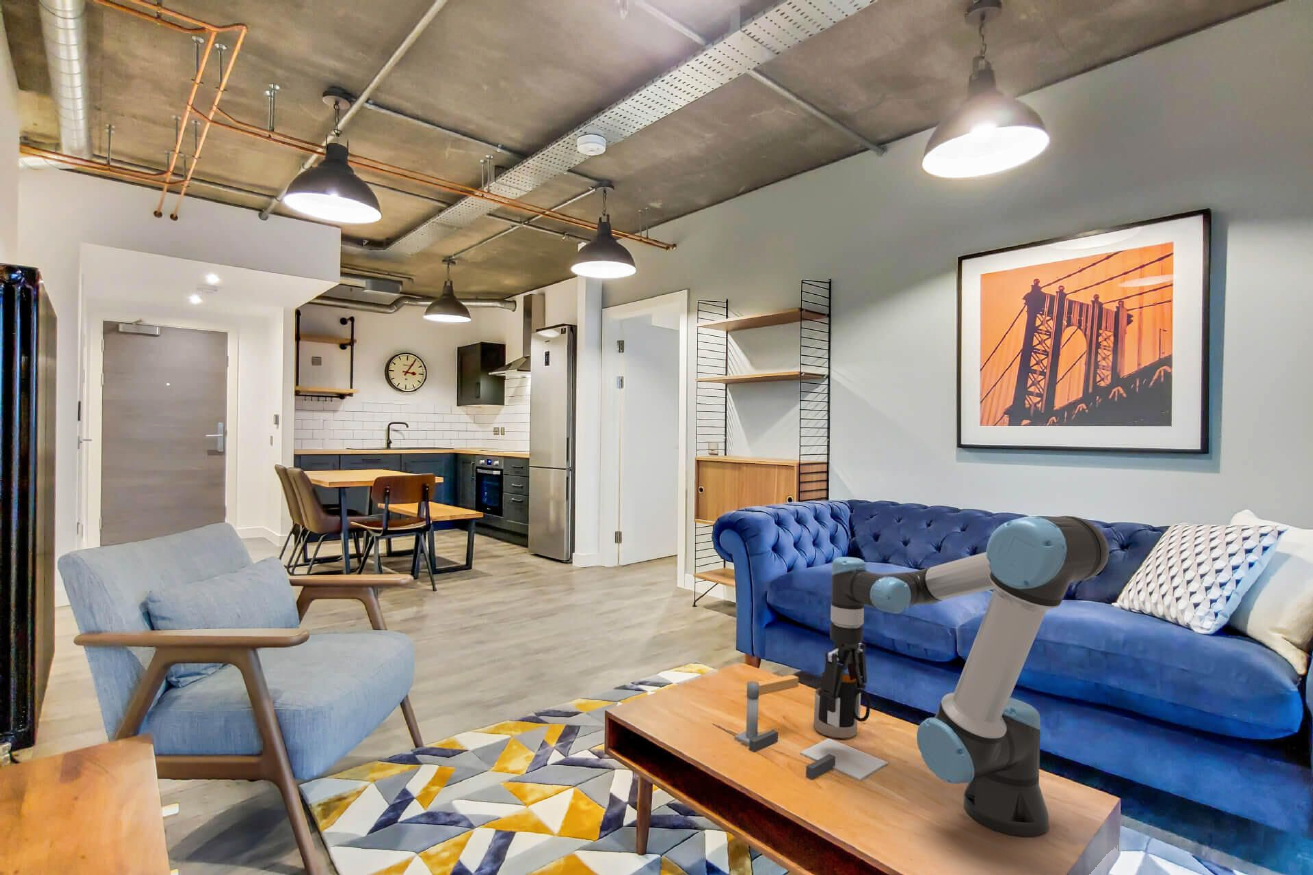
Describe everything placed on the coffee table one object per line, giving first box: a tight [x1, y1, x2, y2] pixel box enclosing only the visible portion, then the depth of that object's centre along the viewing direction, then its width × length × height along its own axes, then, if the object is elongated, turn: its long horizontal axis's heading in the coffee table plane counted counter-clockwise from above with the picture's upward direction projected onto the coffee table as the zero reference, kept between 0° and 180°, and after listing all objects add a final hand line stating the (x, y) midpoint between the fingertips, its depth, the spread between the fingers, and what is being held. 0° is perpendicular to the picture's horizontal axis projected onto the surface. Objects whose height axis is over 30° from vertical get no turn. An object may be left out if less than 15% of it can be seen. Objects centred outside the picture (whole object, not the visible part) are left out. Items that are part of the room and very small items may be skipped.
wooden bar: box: [746, 674, 800, 699], centre depth 166 cm, size 16×3×3 cm, turn 120°
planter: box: [813, 687, 858, 740], centre depth 170 cm, size 11×11×10 cm
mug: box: [818, 671, 871, 728], centre depth 155 cm, size 8×12×10 cm
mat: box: [799, 737, 889, 781], centre depth 154 cm, size 16×12×1 cm
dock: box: [734, 695, 835, 780], centre depth 156 cm, size 24×9×11 cm, turn 42°
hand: (843, 719), depth 154 cm, fingers closed on mug, 8 cm apart
